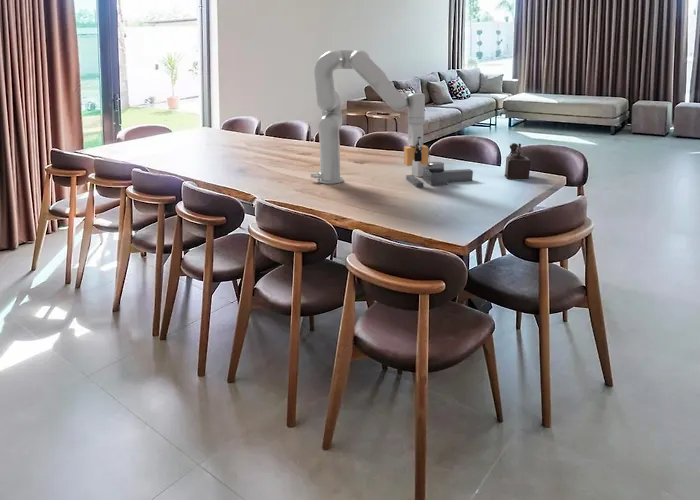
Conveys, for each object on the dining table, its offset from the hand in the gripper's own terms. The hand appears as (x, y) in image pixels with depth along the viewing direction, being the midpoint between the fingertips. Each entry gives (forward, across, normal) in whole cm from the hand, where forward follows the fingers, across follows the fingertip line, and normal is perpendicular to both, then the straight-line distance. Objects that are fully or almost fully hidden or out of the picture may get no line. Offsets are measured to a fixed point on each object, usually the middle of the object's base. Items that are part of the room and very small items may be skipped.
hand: (415, 159), depth 293 cm
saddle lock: (+2, 0, 0) cm, 2 cm away
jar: (+12, -17, +8) cm, 22 cm away
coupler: (+11, 0, +13) cm, 17 cm away
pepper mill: (+12, +1, +50) cm, 52 cm away
